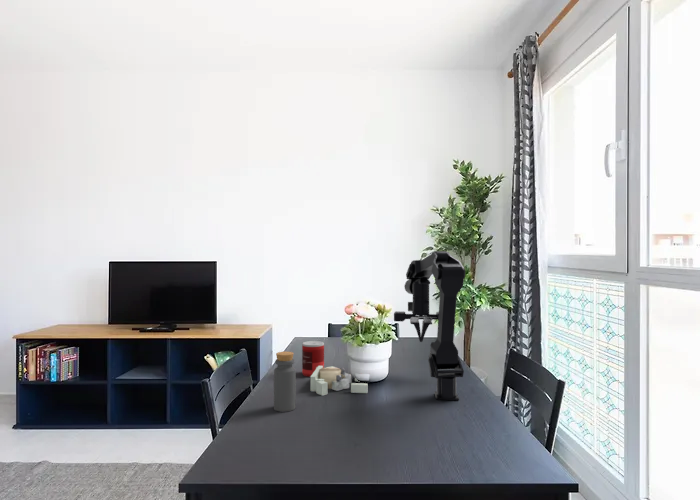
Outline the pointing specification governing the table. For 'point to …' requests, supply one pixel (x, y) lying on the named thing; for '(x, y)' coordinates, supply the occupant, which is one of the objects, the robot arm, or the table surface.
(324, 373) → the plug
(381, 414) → the table surface
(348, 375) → the plunger
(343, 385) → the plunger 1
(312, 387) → the dock
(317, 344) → the canned food
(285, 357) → the bottle
